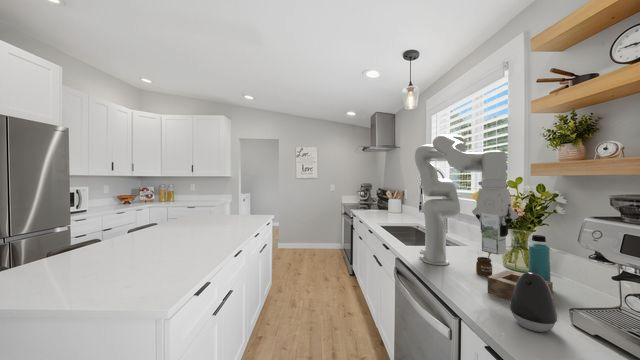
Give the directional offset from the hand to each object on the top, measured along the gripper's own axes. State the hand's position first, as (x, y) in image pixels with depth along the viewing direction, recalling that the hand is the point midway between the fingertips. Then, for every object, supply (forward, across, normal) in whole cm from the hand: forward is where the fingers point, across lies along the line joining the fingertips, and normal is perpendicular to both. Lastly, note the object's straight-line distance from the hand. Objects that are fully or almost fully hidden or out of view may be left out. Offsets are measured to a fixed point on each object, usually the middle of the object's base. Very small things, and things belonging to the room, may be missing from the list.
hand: (493, 234), depth 94 cm
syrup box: (+7, 0, 0) cm, 7 cm away
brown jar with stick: (+22, -13, +17) cm, 31 cm away
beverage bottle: (+22, +5, +22) cm, 31 cm away
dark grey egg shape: (+22, +17, -13) cm, 31 cm away
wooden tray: (+22, +5, +6) cm, 23 cm away
